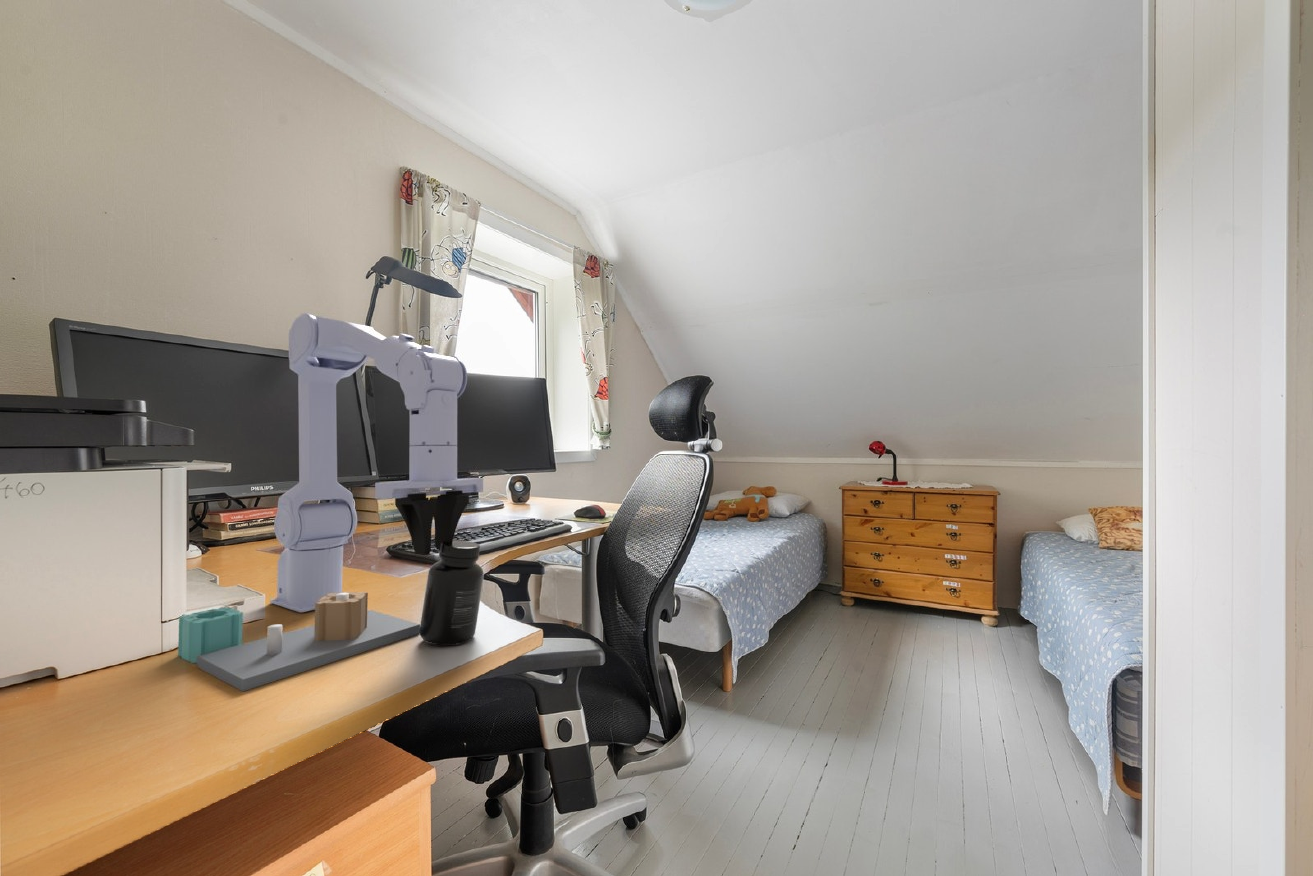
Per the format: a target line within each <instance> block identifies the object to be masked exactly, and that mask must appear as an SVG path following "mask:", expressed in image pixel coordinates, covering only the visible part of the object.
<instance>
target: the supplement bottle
mask: <svg viewBox="0 0 1313 876" xmlns="http://www.w3.org/2000/svg"><path fill="white" fill-rule="evenodd" d="M480 549H481V546H480V544H479V543H476V542H472V541H467V540H458V539H457V540H454V539H453V542H445V541H444V542H442V543H441V548H440V550H439V552H438V558H439V559H440V560H439V561H437V562H435V563H433V564H432V565H431V566H430V568H429V569H428V573H427V578H426V585H425V591H424V597H423V605H422V611H421V617H420V623H419V624H420V632H419V636H420V637H421V639H422V640H424V641H425V642H426V643H430V644H433V645H434V644H435V645H440V646H455V645H461V644H464V643H467V642H469V641H471V640H472V639H473V637H474V636H475V634H476V628H477V624H478V618H479V617H478V615H479V610H480V602H481V597H482V591H483V589H482V588H483V583H484V577H485V576H484V574H485V573H484V570H483V568H482V566H480V564H478V563H477V561H479V559H480Z"/></svg>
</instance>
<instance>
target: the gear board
mask: <svg viewBox="0 0 1313 876" xmlns="http://www.w3.org/2000/svg"><path fill="white" fill-rule="evenodd" d="M368 594H369V593H368V592H367V591H360V592H358V591H352V592H351V591H350V592H348V591H347V592H342V593H336V594H335V593H330V594H326V596H323V597H322V598H321V599H320V600H318V602H316V603H315V610H314V624H312V625H309V626H305V627H301V628H298V629H295V630H290V631H287V632H283V624H278V623H277V624H271V625H269V626H267V627H266V628H267V633H266V637H262V638H260V639H257V640H253V641H252V640H251V641H248V642H244V643H242V644H240V645H237V646H233V647H229V648H225V649H221V650H218V651H214V652H210V653H206V654H202V655H199V656H197V663H196V668H198V669H200V670H202V671H204V672H205V673H207V674H209V675H211V676H212V677H213V676H214V677H215V678H217V679H219V680H220V681H222V682H224V683H226V684H228V685H230V686H232V687H233V688H235V689H238V690H239V691H241V692H246V691H249V690H252V689H254V688H259V687H261V686H264V685H266V684H267V685H268V684H270V683H272V682H276V681H279V680H282V679H286V678H288V677H291V676H294V675H296V674H300V673H303V672H306V671H310V670H312V669H316V668H319V667H321V666H325V665H327V664H331V663H334V662H337V661H339V660H343V659H346V658H349V657H352V656H354V655H357V654H360V653H363V652H368V651H370V650H374V649H376V648H380V647H382V646H385V645H388V644H391V643H395V642H397V641H400V640H403V639H407V638H410V637H413V636H416V635H418V633H419V632H420V623H417V622H414V621H410V620H407V619H404V618H400V617H396V616H393V615H389V614H386V613H382V612H379V611H376V610H372V609H370V610H368V599H369V597H368V596H369V595H368ZM419 634H420V633H419ZM409 636H410V637H409ZM394 641H395V642H394Z"/></svg>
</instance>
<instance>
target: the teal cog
mask: <svg viewBox="0 0 1313 876" xmlns="http://www.w3.org/2000/svg"><path fill="white" fill-rule="evenodd" d="M243 618H244V612H243V611H240V610H238V609H236V608H233V607H230V606H224V607H222V606H221V607H219V608H212V609H207V610H202V611H198V612H192V613H191V614H183V615H181V616H180V617H178V643H177V644H178V646H177V647H178V648H177V649H178V652H177V656H178V657H180V658H181V659H183V660H185V661H187V662H190V664H197V656H199V655H202V654H206V653H210V652H214V651H218V650H221V649H225V648H229V647H233V646H237V645H240V644H243V621H244V620H243Z"/></svg>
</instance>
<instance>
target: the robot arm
mask: <svg viewBox="0 0 1313 876" xmlns="http://www.w3.org/2000/svg"><path fill="white" fill-rule="evenodd" d="M369 359H373V363H374V365H375V367H376V368H377V370H378V371H379V372H381V374H383V375H385V376H387V377H389V378H391V379H393V380H394V381H396V382H397V383H399V386H400V388H401V391H402V393H403V395H404V406H405V408H406V410H408V411H409V454H408V455H409V457H408V458H409V465H408V467H409V468H408V470H409V472H408V473H409V480H402V481H400V480H398V481H388V482H385V481H384V482H375V487H374V492H375V493H374V495H375V496H374V498H375V500H392V499H394V504H395V508H397V509H396V510H398V512H399V513H400V516H401V517H402V519H403V521H404V522H405V525H406V527H407V529H408V532H409V535H410V539H411V542H412V546H413V550H414V551H413V552H414V554H415V555H420V556H421V555H422V556H428V555H430V554H431V551H432V550H431V548H432V526H433V521H434V543H435V545H434V546H435V549H436V551H440V548H441V543H442V542H444V541H445V542H453V540H454V537H455V535H456V530H457V527H458V525H459V522H460V519H461V517H462V515H463V513H464V511H465V509H466V507H467V506H468V504H469V502H470V494H466V493H483V492H484V478H483V477H482V478H481V477H479V478H478V477H472V478H471V477H465V478H458V398H460V397H461V396H462V394H463V393H464V392H465V389H466V387H467V382H468V373H467V367H466V365H465V364H464V362H463V361H462V360H460V359H459V358H458V357H457V356H455V355H447V356H446V355H441V354H437V353H436V352H435V348H434V347H432V346H430V345H426V344H422V345H421V344H418V343H416V342H415V337H414V336H412V335H410V334H405V333H399V334H398V335H391V336H387V337H386V336H384V335H383V334H381V333H379V332H378V331H377V330H374V327H372V326H368V325H365V324H358V323H354V322H350V321H345V320H339V319H335V318H334V319H333V318H328V317H322V316H317V315H312V314H311V313H308V312H307V313H306V312H304V313H300V315H299V316H297V317H296V318H295V320H294V321H293V322H292V325H291V327H290V329H289V332H288V361H289V370H291V371H292V372H294V373H295V374H297V377H298V378H297V379H298V381H297V382H298V383H297V385H298V388H297V389H298V471H299V473H298V474H299V476H298V481H299V482H298V483H297V484H295V485H294V486H293V487H291V488H290V489H288V490H287V491H286V492H284V493H283V494H282V495H280V496H279V497H278V501H277V510H276V511H277V512H276V514H275V518H274V522H273V523H274V525H273V531H274V534H275V537H276V539H277V542H278V543H280V545H282V546H283V548H285V549H284V550H283V551H282V552H281V554H280V555H279V558H278V560H277V573H276V574H277V577H276V579H277V580H276V597H275V598H272V599H269V602H270V603H271V604H274V605H276V606H280V607H282V608H285V609H288V610H291V611H294V612H297V613H305V612H310V611H315V603H316V602H318V600H320V599H321V598H322V597H323V596H326V594H330V593H335V594H336V593H343V569H344V568H343V561H344V544H348V543H349V539H350V538H351V537H352V536H353V535H354V533H355V531H356V529H357V526H358V515H357V511H356V510H357V509H356V508H355V504H354V495H353V493H352V492H351V491H350V490H348V489H347V488H346V487H344V486H343V485H342V484H340V483H339V482H338V446H337V445H338V441H337V439H338V435H337V433H338V432H337V427H338V426H337V425H338V424H337V384H338V383H339V382H340V380H342V379H344V378H347V377H348V378H349V377H351V376H352V375H353V374H354V373H356V371H357V370H359V368H361V367H362V366H363V365H364V364H365V363H366V362H367V361H368V360H369ZM434 488H441V489H442V490H430V491H426V489H434ZM427 496H430V497H427ZM327 500H329V502H317V503H306V502H313V501H327Z"/></svg>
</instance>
